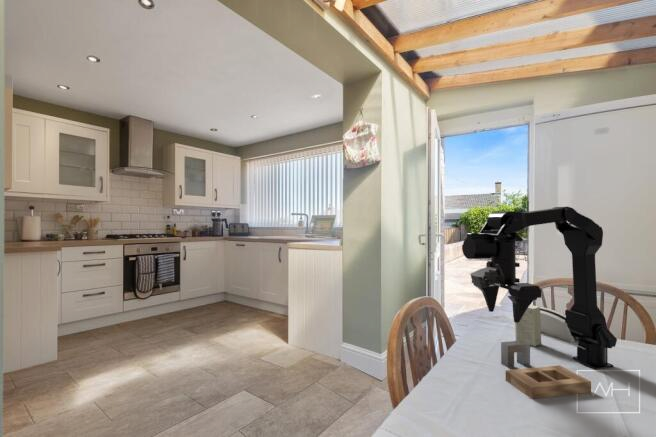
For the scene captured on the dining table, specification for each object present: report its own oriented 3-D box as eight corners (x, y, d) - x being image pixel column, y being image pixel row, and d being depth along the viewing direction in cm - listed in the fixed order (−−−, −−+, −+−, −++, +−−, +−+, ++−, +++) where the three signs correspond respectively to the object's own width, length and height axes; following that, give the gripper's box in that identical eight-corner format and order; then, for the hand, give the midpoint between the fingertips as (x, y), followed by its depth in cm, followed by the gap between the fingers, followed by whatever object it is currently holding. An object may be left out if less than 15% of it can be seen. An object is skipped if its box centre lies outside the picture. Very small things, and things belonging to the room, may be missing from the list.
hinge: (581, 339, 103) (575, 313, 101) (573, 346, 101) (567, 319, 100) (532, 324, 118) (526, 300, 117) (524, 329, 117) (518, 306, 115)
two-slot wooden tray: (559, 374, 80) (559, 365, 80) (591, 391, 72) (591, 381, 72) (505, 380, 77) (505, 370, 77) (531, 398, 69) (531, 387, 69)
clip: (522, 361, 87) (522, 340, 87) (530, 365, 85) (530, 344, 85) (501, 363, 86) (501, 342, 86) (507, 367, 83) (507, 345, 83)
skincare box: (541, 344, 99) (541, 306, 99) (534, 347, 97) (534, 308, 97) (521, 337, 105) (520, 302, 105) (514, 340, 102) (514, 304, 102)
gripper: (455, 254, 89) (455, 308, 89) (501, 264, 71) (501, 331, 71) (489, 254, 91) (489, 306, 91) (543, 262, 73) (543, 328, 73)
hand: (503, 316), depth 81 cm, fingers open, 9 cm apart
